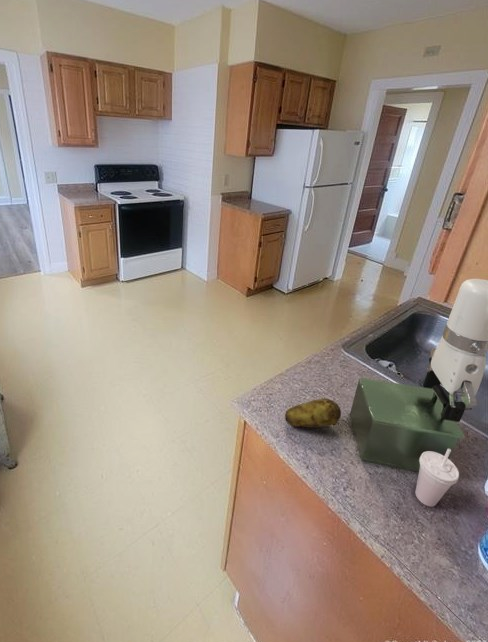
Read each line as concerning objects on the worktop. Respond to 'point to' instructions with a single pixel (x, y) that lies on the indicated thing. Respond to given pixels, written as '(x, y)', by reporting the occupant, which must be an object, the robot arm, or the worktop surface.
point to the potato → (314, 413)
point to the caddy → (392, 439)
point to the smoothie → (435, 477)
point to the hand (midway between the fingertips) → (439, 402)
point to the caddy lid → (409, 407)
